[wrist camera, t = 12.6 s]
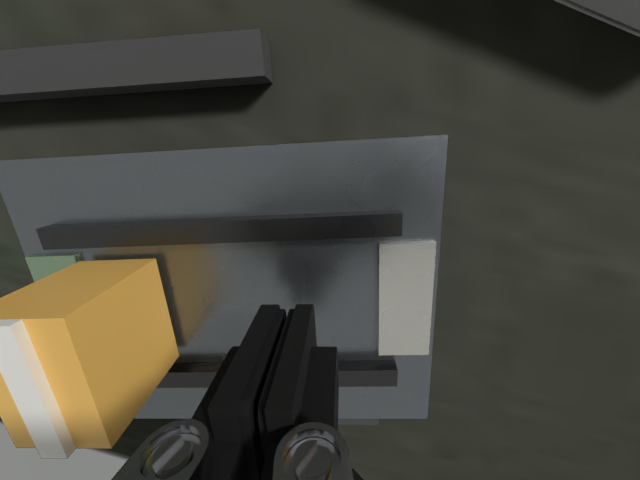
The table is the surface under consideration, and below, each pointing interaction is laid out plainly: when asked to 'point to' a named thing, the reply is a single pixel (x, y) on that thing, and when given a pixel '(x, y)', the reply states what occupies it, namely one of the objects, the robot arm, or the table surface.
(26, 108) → the table surface
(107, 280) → the cardboard box
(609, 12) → the emergency button
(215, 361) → the panel
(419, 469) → the table surface
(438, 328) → the table surface
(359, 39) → the table surface
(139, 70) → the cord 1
